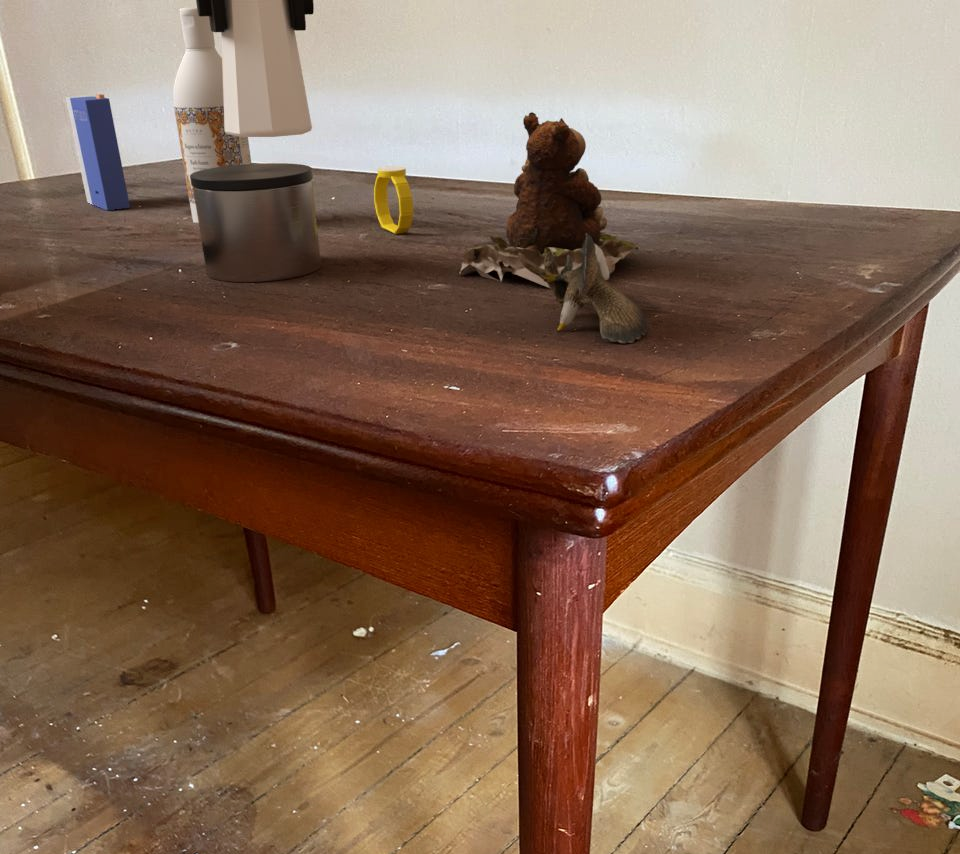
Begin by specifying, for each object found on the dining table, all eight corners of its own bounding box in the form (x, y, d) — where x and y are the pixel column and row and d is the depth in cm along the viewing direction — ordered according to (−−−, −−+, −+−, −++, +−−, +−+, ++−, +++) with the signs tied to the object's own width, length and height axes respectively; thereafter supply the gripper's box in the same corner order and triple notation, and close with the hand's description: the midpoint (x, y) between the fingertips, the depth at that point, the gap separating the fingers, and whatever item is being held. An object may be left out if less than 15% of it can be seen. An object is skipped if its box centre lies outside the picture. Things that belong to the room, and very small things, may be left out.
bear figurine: (671, 261, 90) (681, 102, 83) (556, 295, 81) (557, 120, 75) (552, 243, 98) (552, 98, 92) (435, 272, 89) (427, 113, 83)
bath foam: (180, 229, 111) (143, 9, 100) (217, 217, 116) (185, 8, 106) (236, 231, 109) (204, 7, 98) (271, 219, 114) (243, 6, 104)
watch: (369, 229, 108) (364, 166, 104) (393, 225, 109) (389, 163, 106) (396, 237, 103) (391, 172, 100) (421, 234, 104) (417, 169, 101)
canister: (181, 277, 91) (163, 177, 87) (254, 254, 98) (241, 161, 94) (276, 286, 87) (262, 182, 82) (344, 261, 94) (335, 165, 90)
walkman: (130, 208, 124) (108, 94, 118) (107, 211, 123) (84, 96, 117) (109, 200, 130) (87, 92, 124) (87, 203, 129) (63, 93, 122)
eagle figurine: (494, 308, 73) (563, 310, 66) (533, 211, 73) (607, 201, 65) (576, 354, 77) (649, 360, 70) (614, 262, 77) (692, 258, 69)
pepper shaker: (263, 126, 69) (241, -77, 63) (329, 129, 66) (313, -81, 61) (206, 135, 65) (177, -81, 59) (274, 139, 62) (251, -85, 57)
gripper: (359, -355, 58) (380, 26, 68) (41, -378, 54) (111, 32, 64) (391, -397, 52) (408, 29, 62) (35, -426, 48) (114, 36, 57)
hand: (257, 27), depth 63 cm, fingers closed on pepper shaker, 4 cm apart
